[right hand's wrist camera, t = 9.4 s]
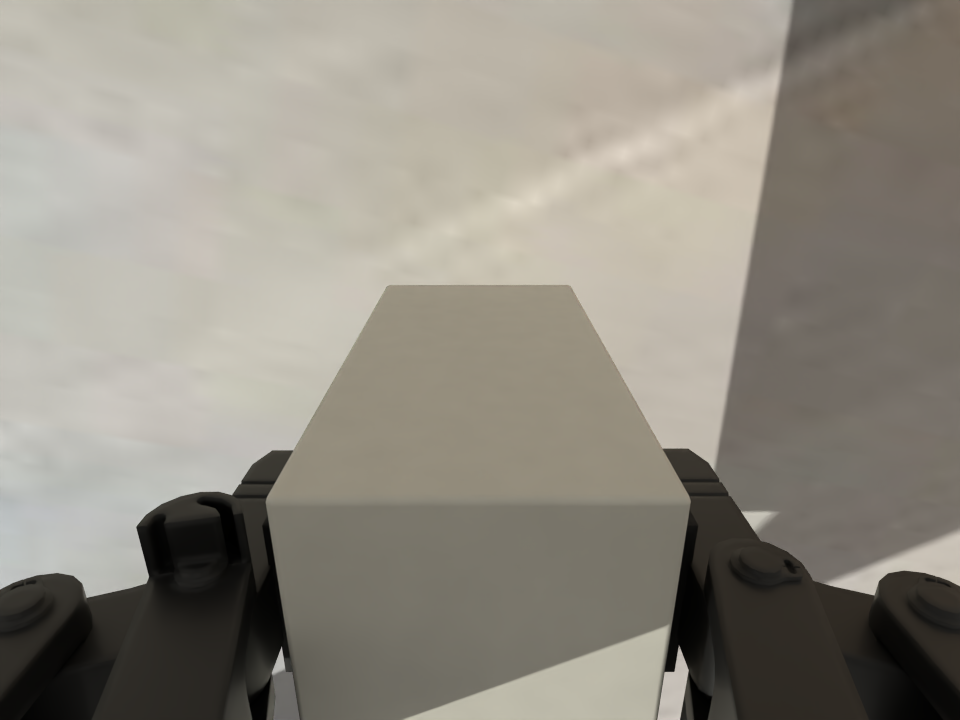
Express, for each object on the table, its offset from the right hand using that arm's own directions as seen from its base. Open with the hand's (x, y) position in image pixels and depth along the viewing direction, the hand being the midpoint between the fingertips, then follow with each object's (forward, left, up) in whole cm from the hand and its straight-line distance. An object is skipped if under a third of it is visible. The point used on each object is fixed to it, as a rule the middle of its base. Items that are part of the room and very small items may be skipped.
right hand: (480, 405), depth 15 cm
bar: (+7, +6, -1) cm, 9 cm away
